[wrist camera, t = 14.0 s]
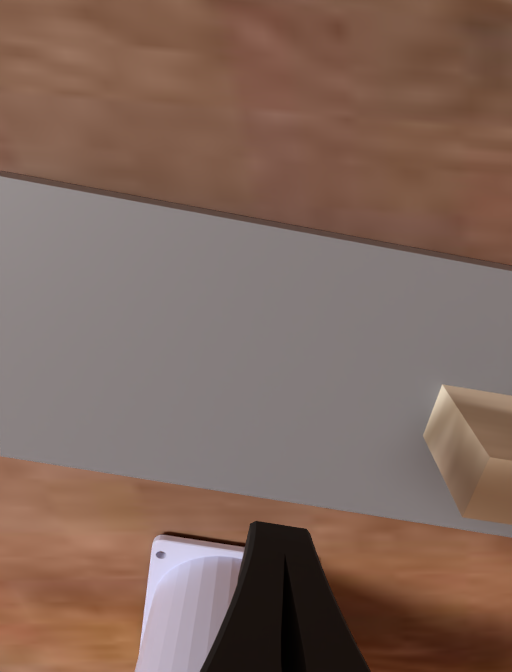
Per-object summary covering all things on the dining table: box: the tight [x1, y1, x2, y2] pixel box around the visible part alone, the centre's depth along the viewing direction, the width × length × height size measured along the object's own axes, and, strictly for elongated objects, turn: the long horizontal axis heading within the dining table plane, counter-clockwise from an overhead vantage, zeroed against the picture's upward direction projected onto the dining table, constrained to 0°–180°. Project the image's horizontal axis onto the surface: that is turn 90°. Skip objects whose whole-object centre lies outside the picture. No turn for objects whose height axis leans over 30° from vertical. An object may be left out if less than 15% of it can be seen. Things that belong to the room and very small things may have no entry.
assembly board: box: [0, 171, 512, 537], centre depth 20 cm, size 12×35×1 cm, turn 80°
